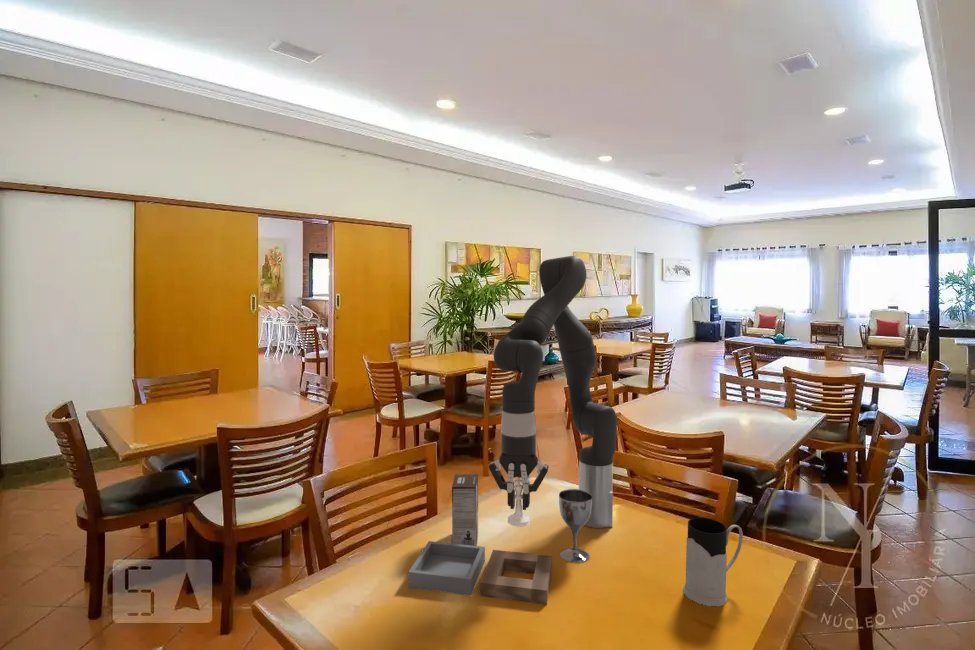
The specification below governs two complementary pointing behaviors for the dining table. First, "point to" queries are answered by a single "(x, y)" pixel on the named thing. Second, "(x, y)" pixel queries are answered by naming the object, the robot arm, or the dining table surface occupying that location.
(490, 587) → the socket block
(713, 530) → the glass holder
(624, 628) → the dining table surface
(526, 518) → the chess piece
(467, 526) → the coffee box
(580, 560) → the wine glass
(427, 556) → the tray
